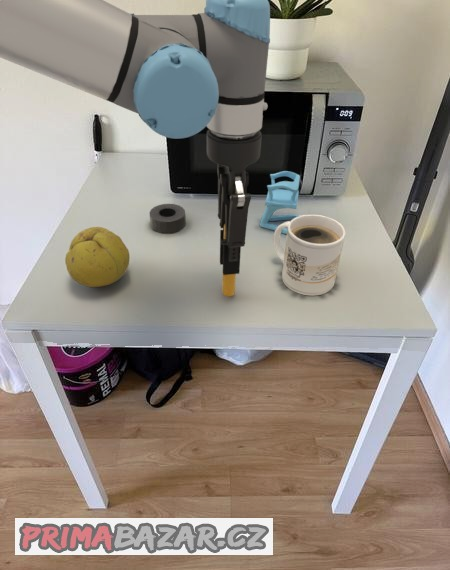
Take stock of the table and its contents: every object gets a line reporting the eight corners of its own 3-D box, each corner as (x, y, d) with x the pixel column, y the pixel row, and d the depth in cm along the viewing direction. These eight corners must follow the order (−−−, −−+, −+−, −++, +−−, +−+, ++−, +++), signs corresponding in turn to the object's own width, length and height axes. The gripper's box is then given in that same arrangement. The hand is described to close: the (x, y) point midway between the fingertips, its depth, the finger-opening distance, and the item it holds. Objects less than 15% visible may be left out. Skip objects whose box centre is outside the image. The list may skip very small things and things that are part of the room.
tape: (151, 235, 93) (150, 223, 91) (150, 216, 99) (148, 204, 97) (187, 232, 94) (186, 220, 92) (183, 214, 100) (183, 202, 98)
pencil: (223, 296, 77) (225, 223, 68) (221, 288, 79) (222, 215, 69) (235, 295, 77) (239, 222, 68) (233, 287, 79) (236, 214, 70)
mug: (285, 298, 78) (292, 247, 71) (270, 259, 87) (274, 209, 80) (342, 293, 80) (354, 242, 73) (321, 254, 89) (330, 206, 82)
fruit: (138, 262, 86) (132, 218, 79) (124, 302, 77) (116, 256, 70) (82, 259, 86) (72, 215, 80) (61, 299, 77) (47, 252, 71)
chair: (262, 214, 101) (266, 164, 93) (299, 218, 99) (306, 168, 92) (257, 232, 95) (261, 180, 87) (296, 236, 94) (304, 185, 86)
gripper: (275, 150, 54) (261, 294, 69) (249, 109, 66) (242, 241, 81) (215, 153, 53) (214, 299, 68) (199, 111, 65) (201, 244, 80)
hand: (229, 267), depth 75 cm, fingers closed on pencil, 2 cm apart
